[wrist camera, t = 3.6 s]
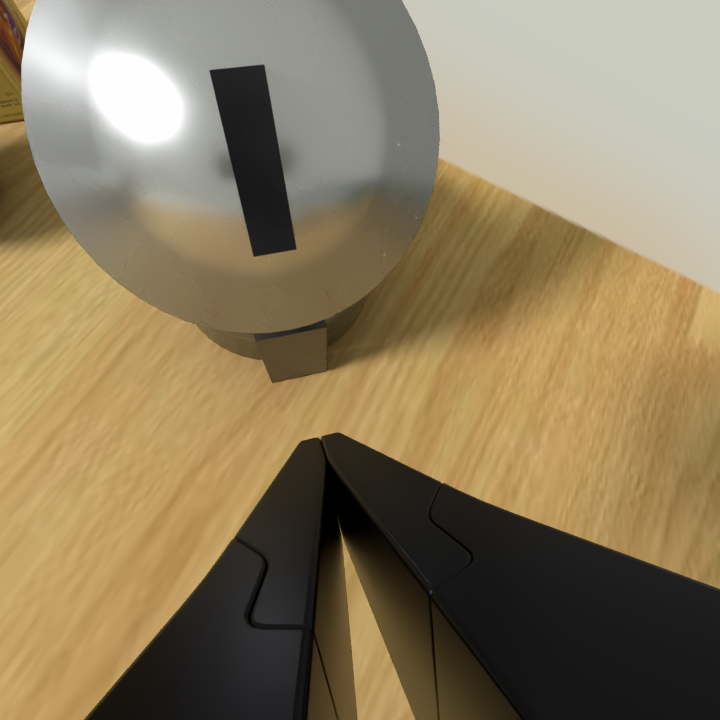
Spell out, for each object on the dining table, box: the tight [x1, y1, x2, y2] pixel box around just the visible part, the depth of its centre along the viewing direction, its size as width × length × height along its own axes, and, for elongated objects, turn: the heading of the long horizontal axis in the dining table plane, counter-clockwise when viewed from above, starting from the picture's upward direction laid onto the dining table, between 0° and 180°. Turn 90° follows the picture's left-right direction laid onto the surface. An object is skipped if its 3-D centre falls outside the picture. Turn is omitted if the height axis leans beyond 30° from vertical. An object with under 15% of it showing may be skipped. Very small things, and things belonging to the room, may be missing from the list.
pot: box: [196, 295, 367, 383], centre depth 23 cm, size 12×11×6 cm
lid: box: [21, 0, 440, 333], centre depth 13 cm, size 12×12×2 cm
